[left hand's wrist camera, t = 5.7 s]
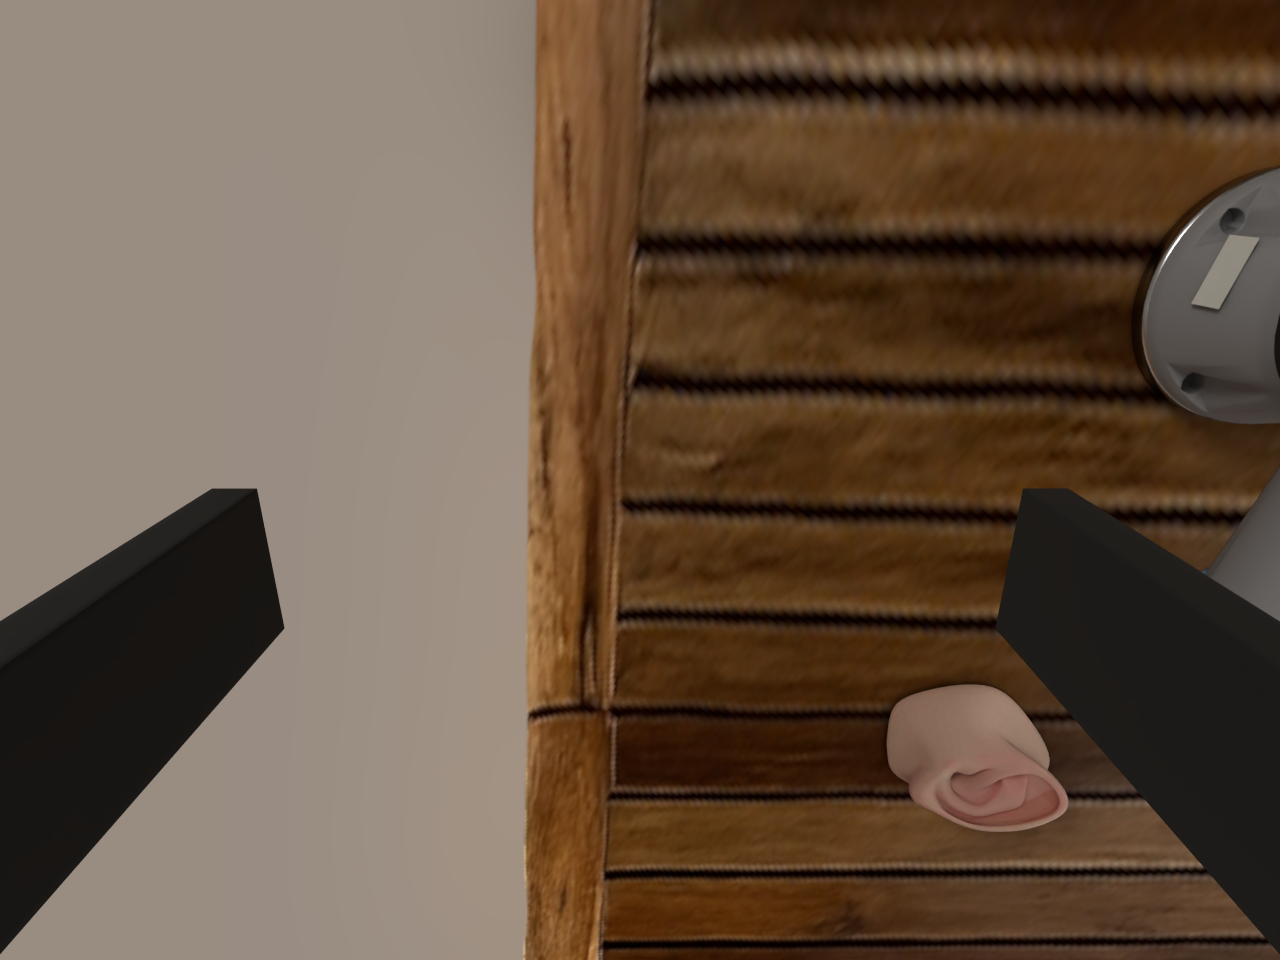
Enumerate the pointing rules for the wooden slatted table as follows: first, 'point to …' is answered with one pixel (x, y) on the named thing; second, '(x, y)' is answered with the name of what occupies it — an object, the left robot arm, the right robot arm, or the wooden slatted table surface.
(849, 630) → the wooden slatted table surface
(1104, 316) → the wooden slatted table surface
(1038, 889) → the wooden slatted table surface
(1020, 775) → the anatomical model
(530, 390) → the wooden slatted table surface
